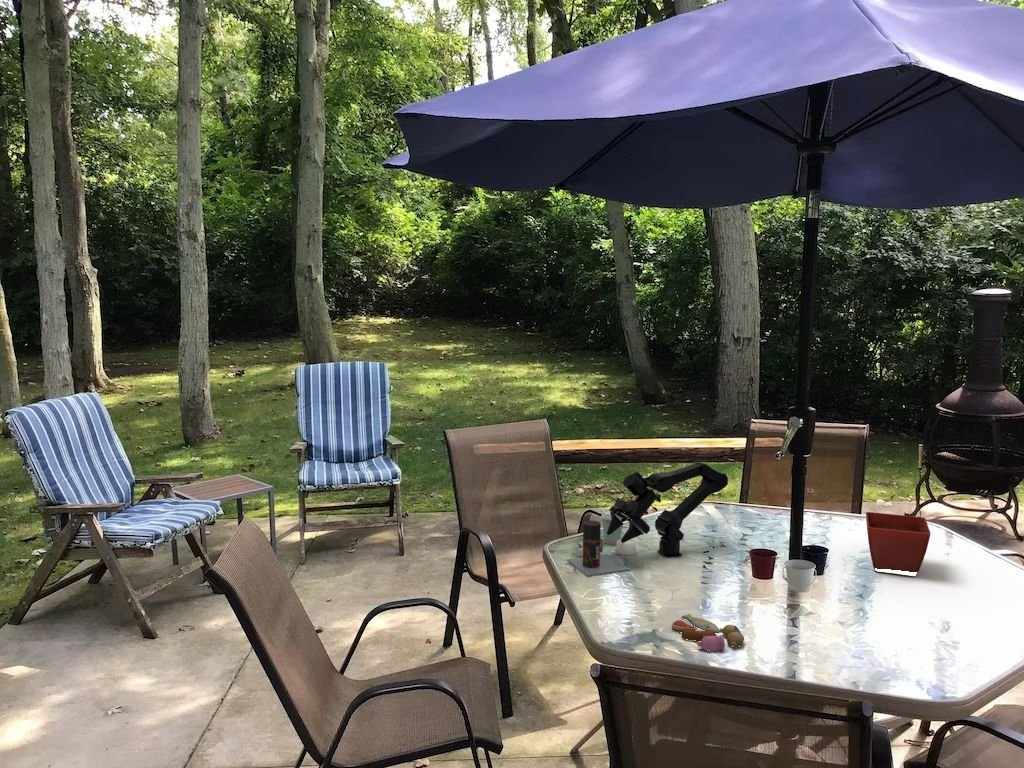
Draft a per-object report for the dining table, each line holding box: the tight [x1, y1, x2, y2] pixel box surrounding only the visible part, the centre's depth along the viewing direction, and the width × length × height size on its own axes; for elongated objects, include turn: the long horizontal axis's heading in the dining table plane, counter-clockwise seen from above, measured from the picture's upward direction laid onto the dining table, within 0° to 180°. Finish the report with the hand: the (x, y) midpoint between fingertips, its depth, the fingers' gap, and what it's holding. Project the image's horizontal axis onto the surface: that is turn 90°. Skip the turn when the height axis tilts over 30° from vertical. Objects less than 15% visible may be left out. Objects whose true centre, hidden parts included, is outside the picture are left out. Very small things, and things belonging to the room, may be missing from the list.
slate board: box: [567, 553, 630, 578], centre depth 280 cm, size 16×16×1 cm
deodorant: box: [582, 519, 601, 568], centre depth 278 cm, size 6×6×15 cm
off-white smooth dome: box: [616, 538, 637, 556], centre depth 294 cm, size 7×7×4 cm
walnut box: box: [600, 537, 604, 553], centre depth 295 cm, size 5×5×5 cm
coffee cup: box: [600, 508, 624, 546], centre depth 303 cm, size 8×8×12 cm
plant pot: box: [865, 511, 931, 573], centre depth 278 cm, size 19×19×17 cm
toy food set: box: [671, 613, 745, 652], centre depth 225 cm, size 26×16×4 cm, turn 41°
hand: (614, 538), depth 282 cm, fingers open, 9 cm apart
